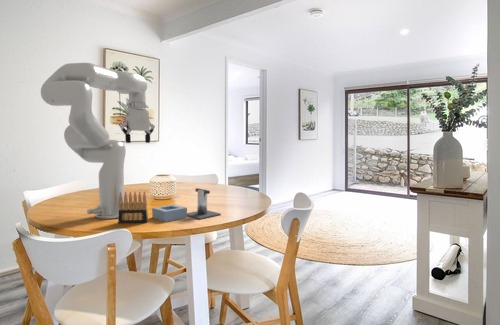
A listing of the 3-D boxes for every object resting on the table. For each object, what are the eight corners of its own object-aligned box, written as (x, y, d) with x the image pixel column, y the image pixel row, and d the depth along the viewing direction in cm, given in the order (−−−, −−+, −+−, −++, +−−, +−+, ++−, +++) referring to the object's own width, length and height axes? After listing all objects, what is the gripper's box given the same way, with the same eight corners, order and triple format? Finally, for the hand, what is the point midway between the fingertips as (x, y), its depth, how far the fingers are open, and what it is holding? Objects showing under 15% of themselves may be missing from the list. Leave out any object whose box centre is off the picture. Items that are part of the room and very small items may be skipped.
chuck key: (204, 216, 129) (204, 191, 128) (192, 212, 135) (192, 188, 134) (211, 214, 132) (212, 190, 131) (200, 211, 138) (200, 188, 137)
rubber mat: (199, 219, 126) (199, 218, 126) (183, 215, 133) (183, 213, 133) (220, 215, 134) (220, 213, 134) (204, 210, 141) (204, 209, 141)
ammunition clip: (148, 221, 123) (147, 191, 122) (147, 223, 121) (146, 191, 120) (119, 222, 122) (119, 191, 121) (118, 223, 120) (117, 192, 119)
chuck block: (165, 222, 122) (165, 211, 122) (152, 217, 129) (152, 207, 129) (187, 217, 129) (186, 207, 129) (173, 213, 136) (173, 204, 136)
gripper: (122, 104, 141) (123, 142, 143) (157, 107, 154) (158, 142, 155) (115, 105, 147) (116, 142, 148) (150, 108, 159) (150, 142, 160)
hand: (138, 142), depth 151 cm, fingers open, 9 cm apart
